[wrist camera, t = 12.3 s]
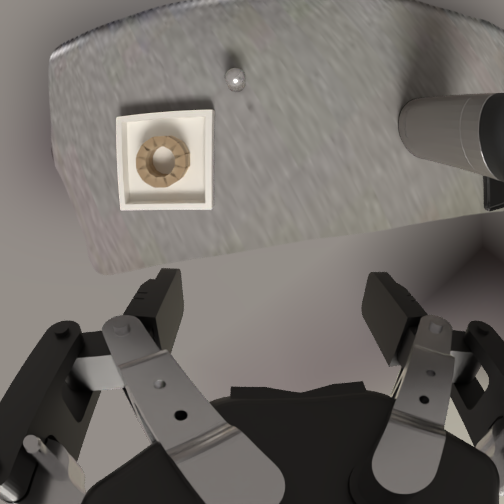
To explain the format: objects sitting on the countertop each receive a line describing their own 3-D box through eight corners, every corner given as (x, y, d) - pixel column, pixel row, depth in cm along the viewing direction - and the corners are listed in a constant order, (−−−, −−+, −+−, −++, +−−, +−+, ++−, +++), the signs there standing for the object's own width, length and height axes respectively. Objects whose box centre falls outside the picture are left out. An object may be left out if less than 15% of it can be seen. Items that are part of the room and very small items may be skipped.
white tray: (214, 111, 34) (212, 109, 32) (214, 205, 39) (211, 209, 37) (123, 117, 34) (116, 117, 32) (127, 205, 39) (120, 210, 37)
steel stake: (245, 76, 33) (245, 67, 28) (245, 91, 33) (244, 85, 29) (228, 76, 33) (225, 67, 28) (227, 91, 33) (224, 85, 29)
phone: (486, 212, 39) (481, 126, 33) (482, 210, 40) (477, 126, 34) (510, 205, 38) (507, 125, 32) (507, 203, 39) (503, 125, 33)
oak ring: (190, 134, 35) (185, 134, 32) (190, 183, 37) (185, 187, 35) (143, 137, 35) (135, 138, 32) (144, 184, 37) (137, 188, 35)
